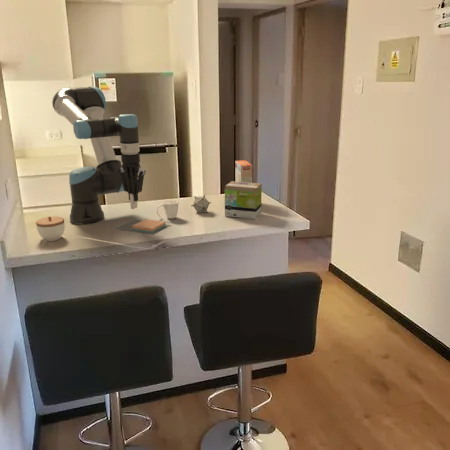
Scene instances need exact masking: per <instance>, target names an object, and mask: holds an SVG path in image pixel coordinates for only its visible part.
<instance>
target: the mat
mask: <svg viewBox="0 0 450 450" xmlns="http://www.w3.org/2000/svg"><path fill="white" fill-rule="evenodd" d="M141 221H142V220H138V219H132V220H131V221H130V220H129V221H128V222H126V223H123V224H122V225H118V227H114V230H119V231H124V232H125V231H126V232H132V233H138V234H143V235H144V234H145V235H151V236H154V235H156V234H158V233H160V232H162V231H164V230H167V228H170V227H172V225H171V224H166V223H165V225H166V226H165V227H163V228H161V229H159V230H157V231H155V232H153V233H149V232H143V231H137V230H132V226H133V225H135V224H137V223H139V222H141Z"/></svg>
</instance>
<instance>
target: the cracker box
mask: <svg viewBox="0 0 450 450" xmlns="http://www.w3.org/2000/svg"><path fill="white" fill-rule="evenodd" d="M234 164H235V167H234V168H235V175H234V176H235V181H234V182H247V183H253V164H252V163H250V162H249V161H247V160H245V159H242V160H235V163H234Z"/></svg>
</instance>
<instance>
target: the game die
mask: <svg viewBox="0 0 450 450" xmlns="http://www.w3.org/2000/svg"><path fill="white" fill-rule="evenodd" d="M211 203H212V201H211V202H209V200H208V199H207V197H206V194H205V195H204V194H203V196H194V200H193V204H192V205H190V207H193V208H194V210H195V211H196V214H199V213H204V212H206V213H207V214H208V213H209V212H208V208H209V206H210V204H211Z"/></svg>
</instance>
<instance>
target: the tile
mask: <svg viewBox="0 0 450 450" xmlns="http://www.w3.org/2000/svg"><path fill="white" fill-rule="evenodd" d="M140 221H141V222H139V223H137V224H135V225H133V226H132V230H137V231H143V232H149V233H153V232H155V231H157V230H159V229H161V228H163V227H165V226H166V225H165V224H166V222H165V221H162V220H154V219H147V218H146V219H144V220H140Z"/></svg>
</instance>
